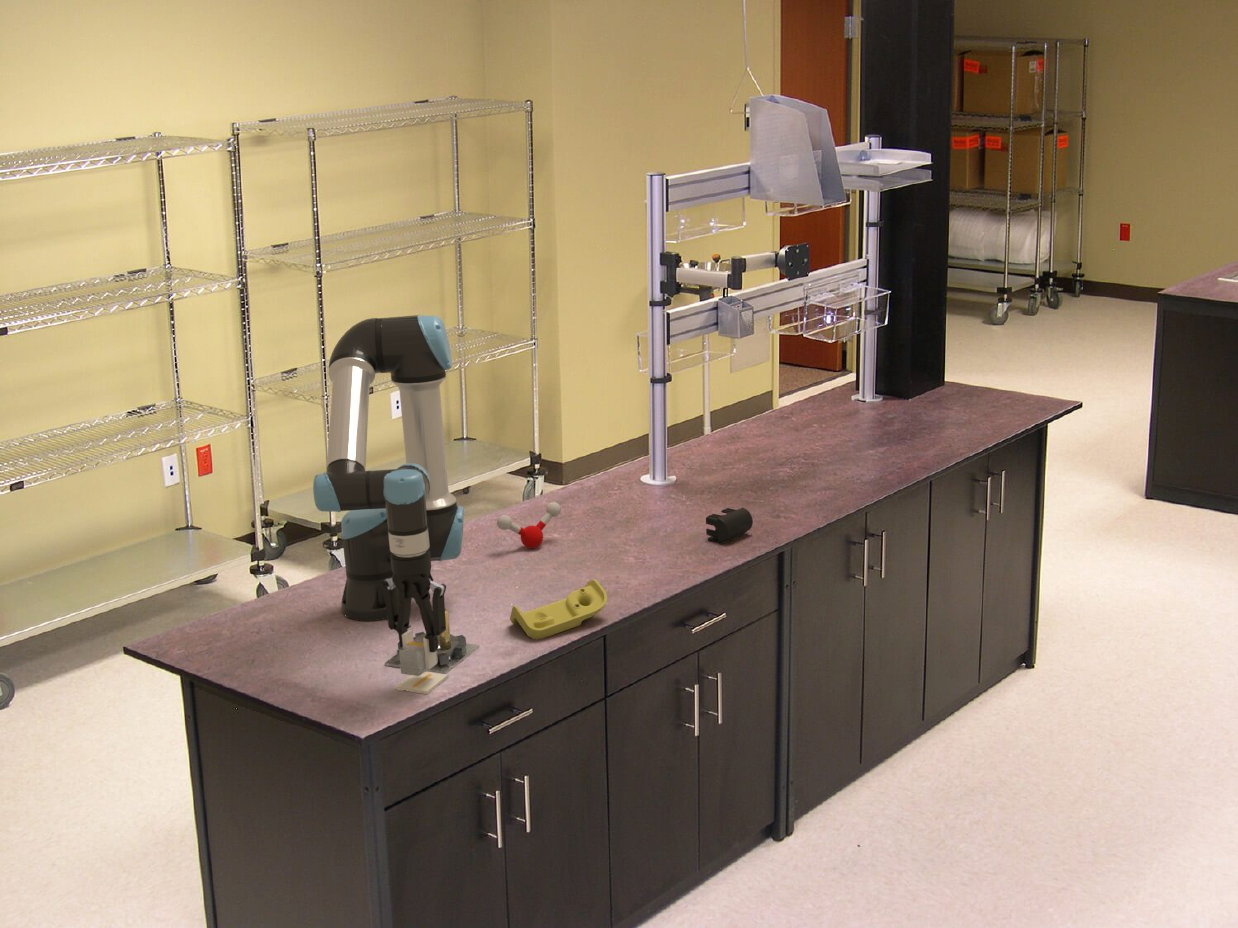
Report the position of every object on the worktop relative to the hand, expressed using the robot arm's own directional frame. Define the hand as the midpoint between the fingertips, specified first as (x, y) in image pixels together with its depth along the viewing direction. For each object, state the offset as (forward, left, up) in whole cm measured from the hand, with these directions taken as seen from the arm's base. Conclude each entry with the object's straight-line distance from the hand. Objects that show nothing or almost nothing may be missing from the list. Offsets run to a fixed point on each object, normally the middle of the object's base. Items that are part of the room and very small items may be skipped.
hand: (420, 664), depth 287 cm
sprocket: (-5, +12, -4) cm, 14 cm away
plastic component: (+13, +36, -5) cm, 38 cm away
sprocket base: (-5, +12, -4) cm, 14 cm away
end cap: (+28, +97, -4) cm, 101 cm away
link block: (0, 0, -1) cm, 1 cm away
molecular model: (-16, +77, -4) cm, 79 cm away
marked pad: (0, 0, -4) cm, 4 cm away
